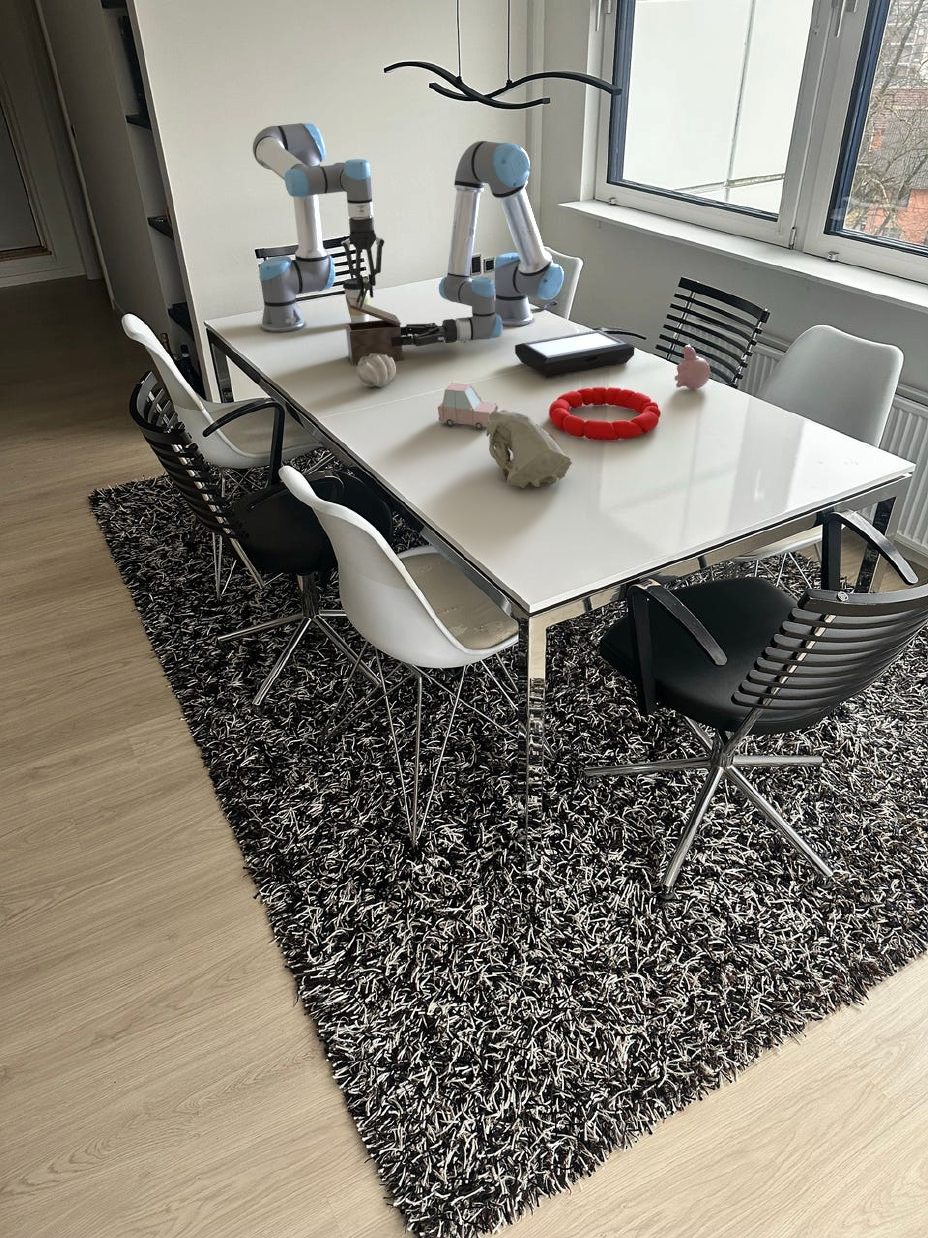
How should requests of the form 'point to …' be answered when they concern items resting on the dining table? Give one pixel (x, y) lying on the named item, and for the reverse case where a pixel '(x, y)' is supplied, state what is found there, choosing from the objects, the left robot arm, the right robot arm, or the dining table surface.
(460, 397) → the toy car
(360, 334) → the chest
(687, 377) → the figurine
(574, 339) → the electronic device
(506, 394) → the dining table surface
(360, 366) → the seashell
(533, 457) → the animal skull
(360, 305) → the panel with cylinder handle
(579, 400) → the decorative ring
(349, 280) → the coffee cup
